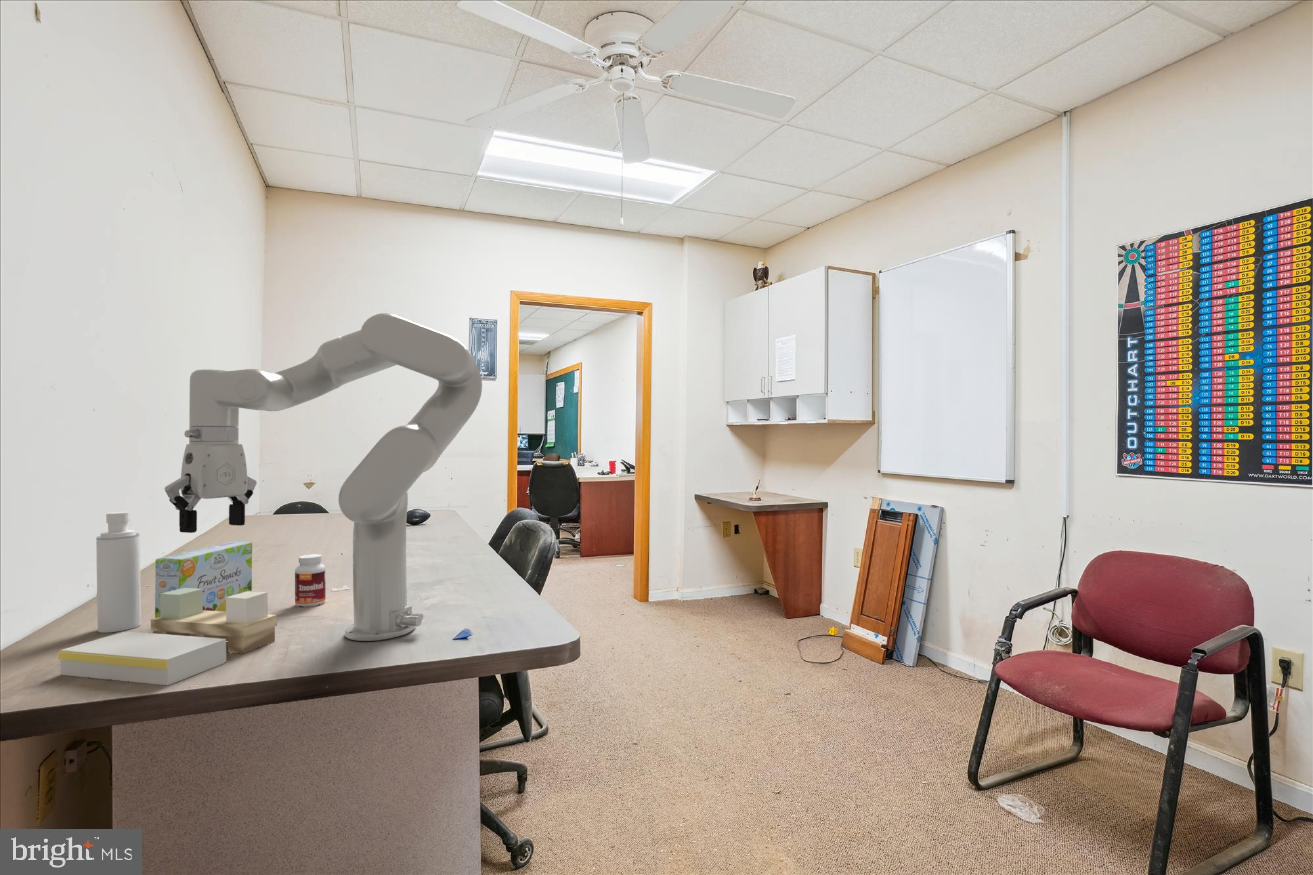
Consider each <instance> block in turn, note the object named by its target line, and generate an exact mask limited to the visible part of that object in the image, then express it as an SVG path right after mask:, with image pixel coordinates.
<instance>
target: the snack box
mask: <svg viewBox="0 0 1313 875" xmlns="http://www.w3.org/2000/svg"><path fill="white" fill-rule="evenodd" d="M154 570H155V571H154V572H155V576H154V577H155V580H154V582H155V584H154V588H155V589H154V590H155V591H154V593H155V594H154V603H155V604H154V619H155V618H158V617H161V611H160V594H161V593H165V592H169V591H173V590H177V589H181V588H195V589H202V593H203V610H206V611H222V612H226V597H229V596H233V595H236V594H240V593H243V592H247V591H251V592H253V590H252V589H253V588H252V587H253V584H252V583H253V541H228V542H225V543H221V544H216V545H211V546H208V547H202V548H199V549H195V550H194V549H193V550H190V551H185V552H181V553H177V554H172V555H169V556H168V555H167V556H164V557H159V558H157V559H155V569H154Z"/></svg>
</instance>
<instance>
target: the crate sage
mask: <svg viewBox="0 0 1313 875" xmlns="http://www.w3.org/2000/svg"><path fill="white" fill-rule="evenodd" d="M160 611H161V618H169V619H182V618H186V617H189V616H193V615H196V614H199V613H203V593H202V589H195V588H181V589H177V590H173V591H169V592H165V593H161V594H160Z"/></svg>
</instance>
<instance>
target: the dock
mask: <svg viewBox="0 0 1313 875" xmlns="http://www.w3.org/2000/svg"><path fill="white" fill-rule="evenodd" d="M57 653H58V655H57V657H58V660H59V661H60V675H61V676H68V677H69V676H70V677H71V676H72V677H78V678H88V677H90V679H91V678H92V677H93V678H92V679H98V680H108V679H110V681H118V680H119V681H122V682H128V681H129V682H130V683H140V684H151V685H157V686H158V685H159V686H170V685H172V684H176V683H177V682H180V681H183V680H186V679H188V678H190V677H193V676H196V675H198V674H201V673H204V672H207V671H209V670H210V669H211V670H212V669H213V668H216V667H218V666H220V665H224V664H226V663H227V643H226V639H220V638H207V637H194V636H180V635H167V634H154V633H153V632H141V631H140V632H139V631H129V630H124V631H120V632H117V633H115V634H111V635H108V636H104V637H100V638H98V639H94V640H91V641H86V642H85V643H84V642H83V643H80V644H78V645H73V646H71V647H67V648H63V649H60V651H58V652H57ZM225 662H226V663H225ZM111 679H112V680H111ZM129 682H128V683H129Z"/></svg>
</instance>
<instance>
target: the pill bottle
mask: <svg viewBox="0 0 1313 875" xmlns="http://www.w3.org/2000/svg"><path fill="white" fill-rule="evenodd" d="M322 560H323V557H322V554H319V553H318V554H317V553H316V554H315V553H313V554H312V553H311V554H305V555H300V556H298V563H299V565H298V566H297V567H296V568H295V570H294V602H295V603H294V604H295V606H296V607H299V606H304V607H303V608H307V607H306V606H311V607H316V606H319V604H320V605H323V604H324V603H325V602H326V599H327V598H326V596H327V595H326V592H327V591H326V590H327V588H326V566H325V565H324V564H323V563H322V562H323V561H322Z"/></svg>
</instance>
